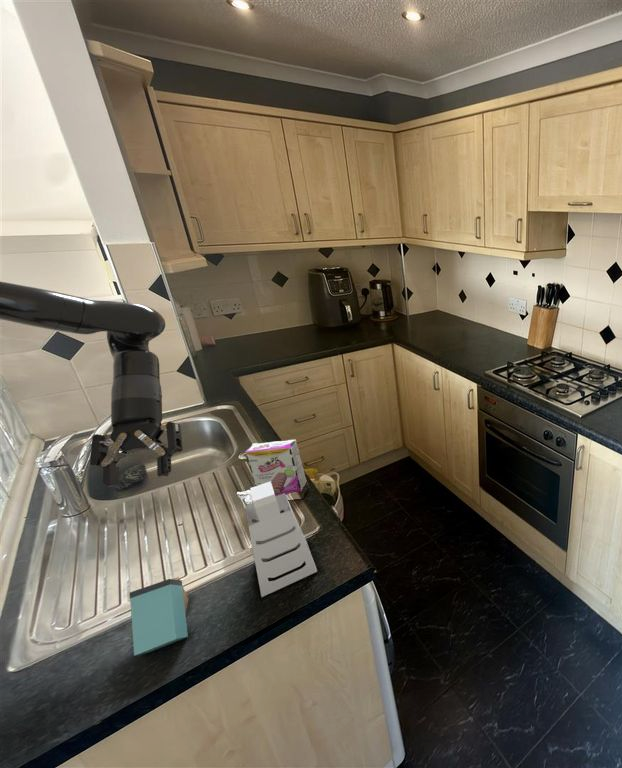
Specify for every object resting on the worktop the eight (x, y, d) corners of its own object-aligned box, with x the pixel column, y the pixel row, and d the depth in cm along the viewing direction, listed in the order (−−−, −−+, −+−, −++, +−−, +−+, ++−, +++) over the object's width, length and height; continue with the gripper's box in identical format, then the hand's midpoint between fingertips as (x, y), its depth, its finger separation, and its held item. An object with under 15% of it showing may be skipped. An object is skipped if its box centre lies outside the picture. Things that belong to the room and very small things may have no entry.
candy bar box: (260, 505, 109) (243, 452, 103) (267, 494, 113) (251, 442, 107) (304, 499, 110) (290, 447, 104) (309, 489, 115) (296, 438, 109)
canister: (143, 673, 67) (116, 624, 63) (157, 621, 77) (135, 575, 72) (184, 656, 70) (161, 608, 66) (193, 607, 79) (174, 563, 75)
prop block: (164, 622, 76) (153, 599, 74) (168, 606, 79) (158, 583, 77) (185, 614, 78) (174, 591, 76) (188, 599, 81) (178, 576, 79)
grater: (307, 543, 94) (287, 470, 87) (317, 571, 86) (295, 493, 79) (255, 565, 89) (229, 488, 82) (261, 597, 81) (232, 515, 74)
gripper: (79, 403, 77) (77, 489, 73) (165, 390, 80) (167, 472, 76) (110, 411, 84) (110, 490, 80) (188, 398, 87) (191, 474, 83)
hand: (138, 481), depth 78 cm, fingers open, 8 cm apart
